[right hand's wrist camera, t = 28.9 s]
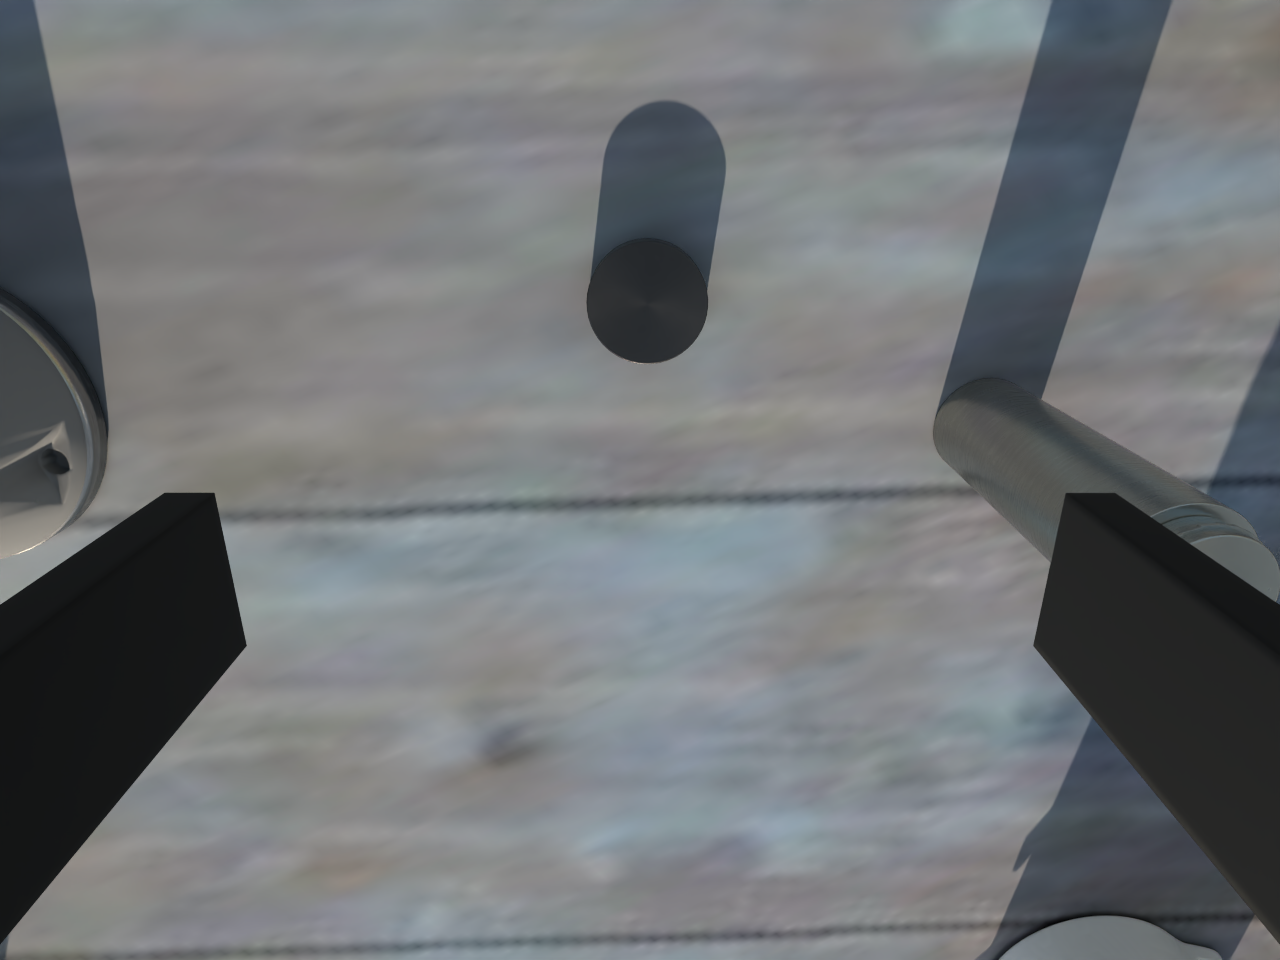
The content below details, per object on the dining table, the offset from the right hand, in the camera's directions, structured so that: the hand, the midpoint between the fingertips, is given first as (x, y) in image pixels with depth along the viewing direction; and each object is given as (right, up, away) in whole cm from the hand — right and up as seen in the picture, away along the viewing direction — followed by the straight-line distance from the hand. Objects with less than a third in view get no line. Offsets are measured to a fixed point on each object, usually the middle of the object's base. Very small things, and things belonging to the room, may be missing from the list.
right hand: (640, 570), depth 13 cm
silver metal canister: (+18, +4, +29) cm, 34 cm away
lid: (0, +10, +25) cm, 27 cm away
